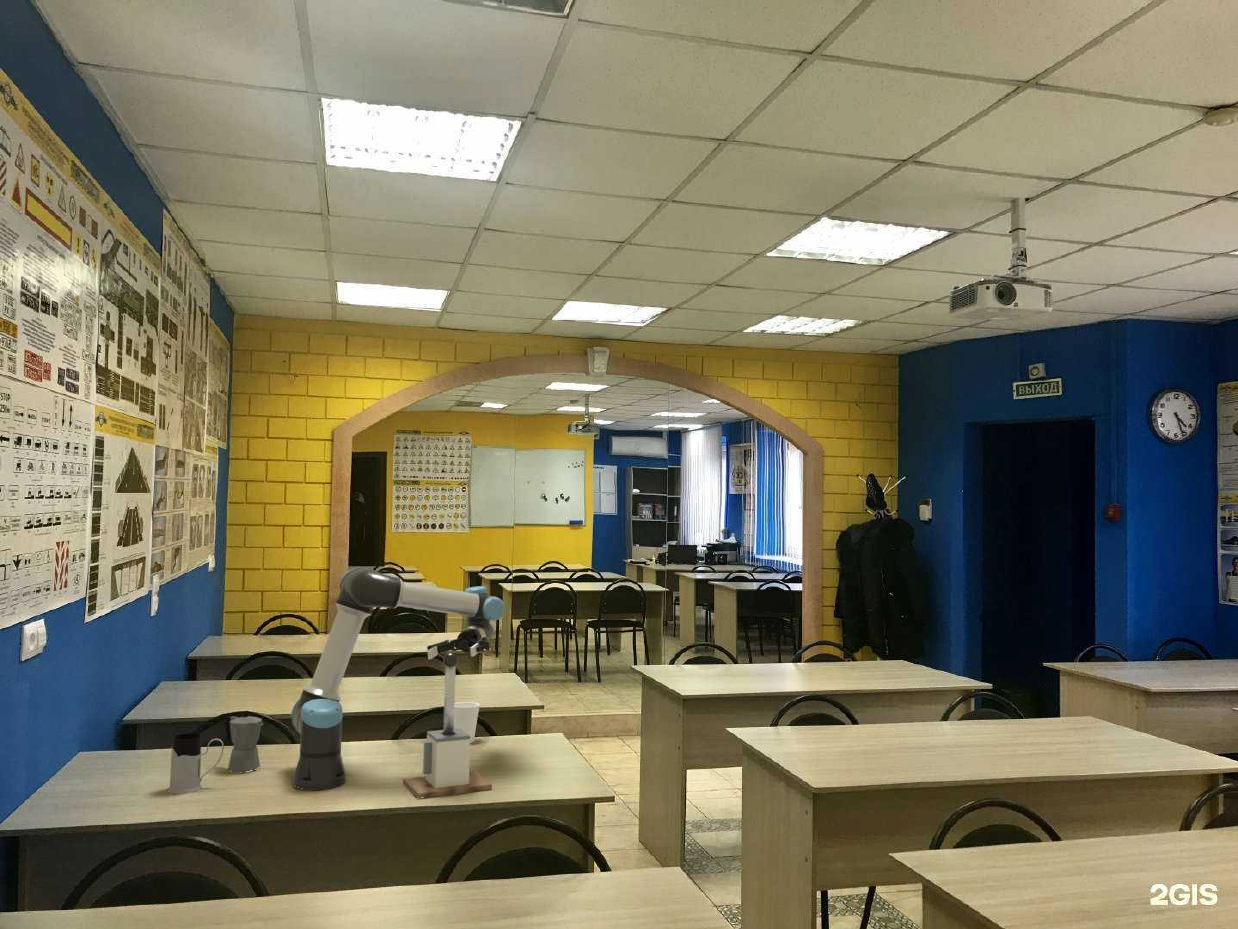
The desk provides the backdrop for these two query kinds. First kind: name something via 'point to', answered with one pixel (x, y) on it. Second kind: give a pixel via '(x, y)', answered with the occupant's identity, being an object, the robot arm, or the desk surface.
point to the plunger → (449, 692)
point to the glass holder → (187, 763)
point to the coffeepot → (243, 742)
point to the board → (425, 789)
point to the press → (447, 758)
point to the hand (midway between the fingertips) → (450, 653)
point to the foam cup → (466, 717)
